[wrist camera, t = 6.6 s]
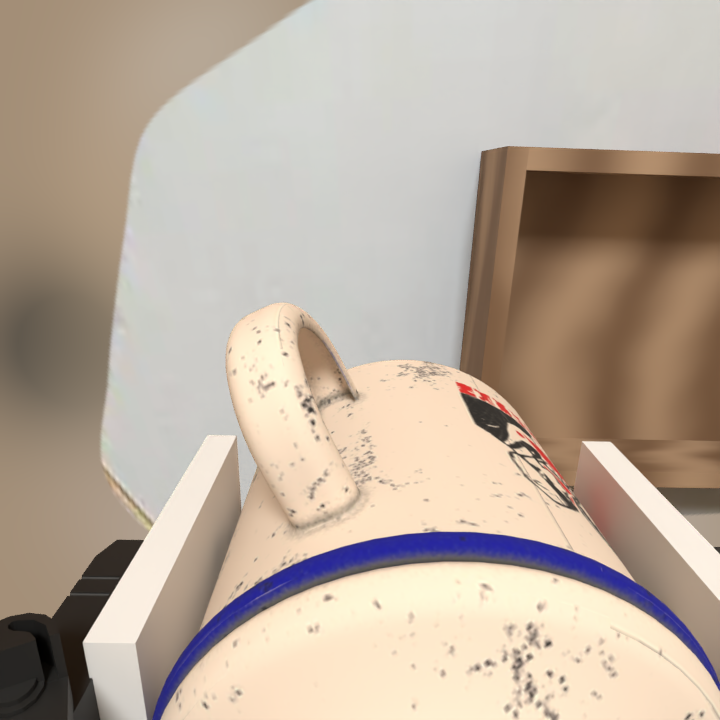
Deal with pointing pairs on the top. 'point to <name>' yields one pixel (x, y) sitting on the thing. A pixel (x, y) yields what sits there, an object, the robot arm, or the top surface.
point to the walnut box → (602, 304)
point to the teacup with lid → (415, 560)
